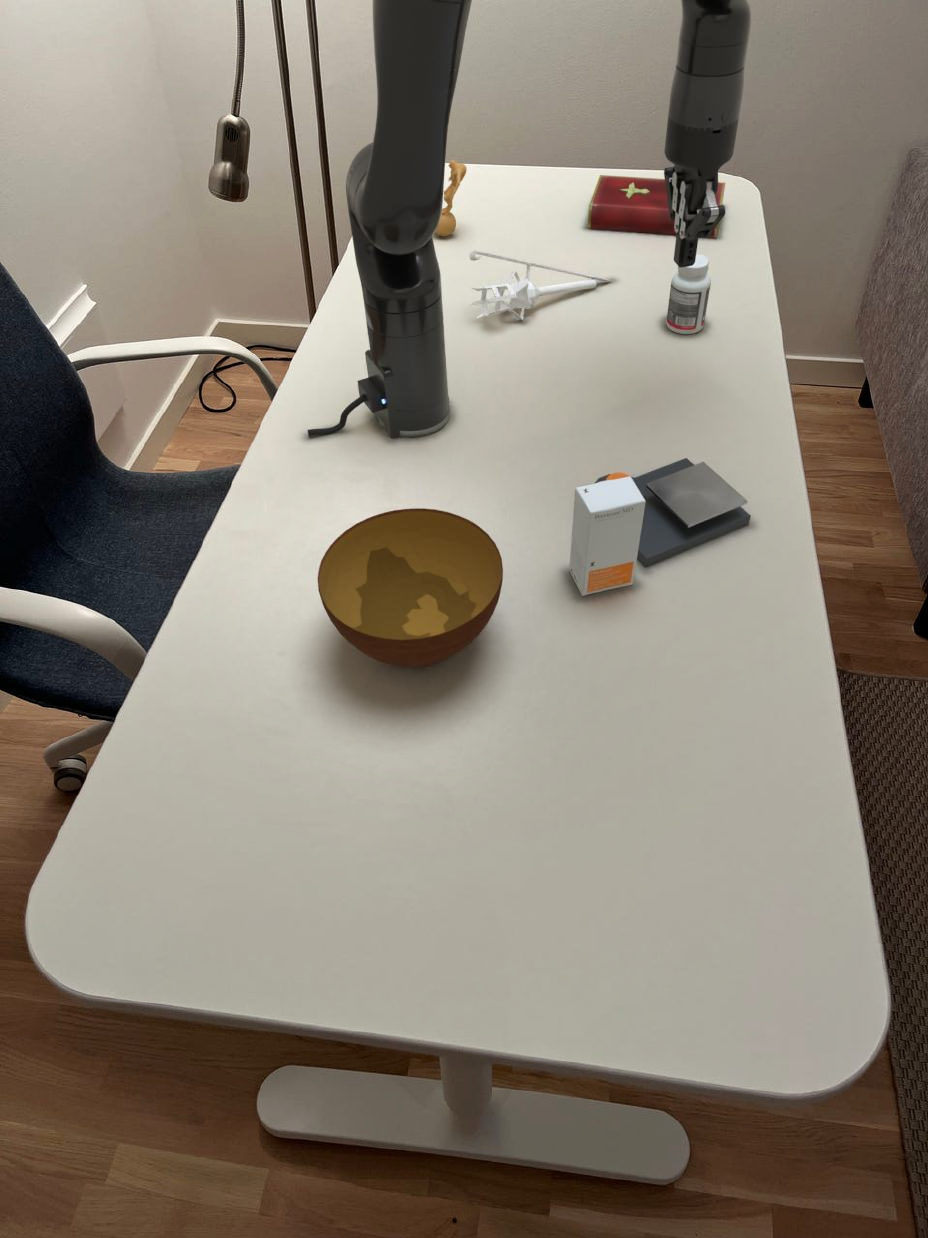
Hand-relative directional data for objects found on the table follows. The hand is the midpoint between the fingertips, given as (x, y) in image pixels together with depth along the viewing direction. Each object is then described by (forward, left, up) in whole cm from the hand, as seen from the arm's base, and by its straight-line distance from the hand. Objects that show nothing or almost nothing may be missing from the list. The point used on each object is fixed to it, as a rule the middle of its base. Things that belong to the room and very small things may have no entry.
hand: (683, 263), depth 113 cm
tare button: (-21, -19, -13) cm, 31 cm away
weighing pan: (-14, -24, -13) cm, 31 cm away
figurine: (-6, +53, -16) cm, 55 cm away
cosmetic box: (-28, -27, -16) cm, 43 cm away
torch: (-5, +25, -16) cm, 30 cm away
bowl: (-49, -25, -16) cm, 58 cm away
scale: (-16, -22, -16) cm, 32 cm away
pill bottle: (+10, +10, -16) cm, 21 cm away
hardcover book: (+26, +40, -16) cm, 50 cm away
